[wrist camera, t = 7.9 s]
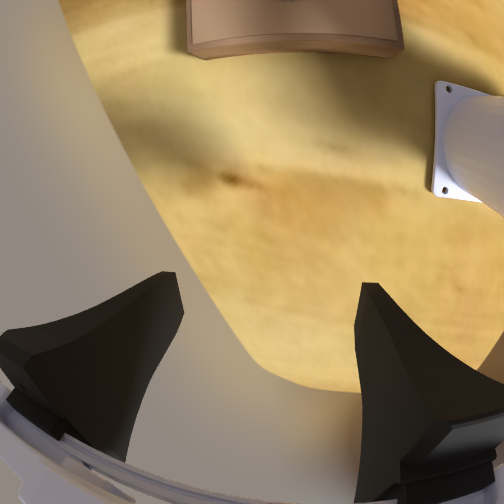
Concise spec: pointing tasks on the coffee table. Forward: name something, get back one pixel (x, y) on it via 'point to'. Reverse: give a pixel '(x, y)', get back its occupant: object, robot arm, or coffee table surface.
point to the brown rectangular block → (293, 27)
